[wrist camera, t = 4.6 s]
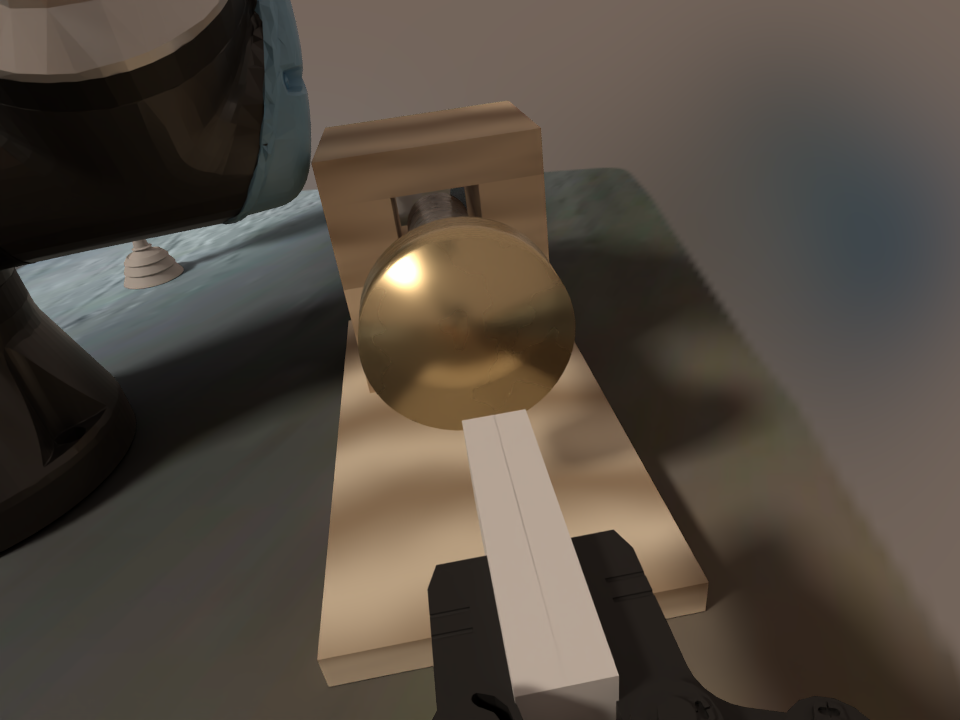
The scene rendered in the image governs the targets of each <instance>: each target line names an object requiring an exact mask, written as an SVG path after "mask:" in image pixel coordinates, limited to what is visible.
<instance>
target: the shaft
mask: <svg viewBox="0 0 960 720" xmlns="http://www.w3.org/2000/svg"><path fill="white" fill-rule="evenodd" d="M407 225H408V232H407V233H406V234H404V235H403V236H401V237H400V238H399V239H397V240H396V241H395V242H394V243H392V244H391V245H390V246H389V247H388V248H387V249H386V250H385V251H384V252H383V253H382V255H381V256H380V257H379V258H378V259H377V261H376V262H375V264H374V266H373V267H372V269H371V270H370V272H369V274H368V277H367V279H366V281H365V284H364V287H363V291H362V294H361V300H360V309H359V325H358V351H359V357H360V362H361V365H362V368H363V371H364V373H365V375H366V377H367V379H368V381H369V383H370V385H371V386H372V388H373V389H374V390H375V392H376V393H377V395H378V396H379V397H380V398H381V399H382V400H383V401H384V402H385V403H386V404H387V405H388V406H390V407H391V408H392V409H393V410H395V411H396V412H398V413H399V414H401V415H403V416H404V417H406V418H408V419H410V420H412V421H414V422H417V423H419V424H422V425H425V426H429V427H433V428H438V429H443V430H454V431H460V430H463V425H462V420H468V419H473V418H479V417H485V416H490V415H496V414H501V413H507V412H512V411H518V410H524V409H526V411H527V410H529V409H530V408H532V407H533V406H534V405H536V404H537V403H538V402H539V401H541V400H542V399H543V398H544V397H545V396H546V395H547V394H548V393H549V392H550V391H551V389H552V388H553V387H554V386H555V384H556V383H557V382H558V380H559V379H560V377H561V376H562V374H563V372H564V371H565V368H566V366H567V364H568V362H569V360H570V357H571V353H572V350H573V346H574V340H575V325H576V324H575V316H574V310H573V306H572V302H571V299H570V297H569V295H568V292H567V290H566V288H565V286H564V285H563V283H562V282H561V280H560V278H559V277H558V275H557V274H556V272H555V270H554V269H553V267H552V266H551V264H550V262H549V261H548V259H547V258H546V256H545V255H544V253H543V252H542V251H541V250H540V249H539V247H538V246H537V245H536V244H535V243H534V242H533V241H531V240H530V239H529V238H528V237H527V236H525V235H524V234H522V233H521V232H519V231H518V230H516V229H514V228H512V227H510V226H508V225H506V224H504V223H501V222H497V221H494V220H491V219H486V218H480V217H469V215H468V212H467V210H466V208H465V206H464V205H463V204H462V203H461V201H459V200H458V199H457V198H456V197H454V196H452V195H450V194H446V193H431V194H428V195H425V196H423V197H422V198H420V199H419V200H418V201H417V202H416V203H415V204H414V205H413V206H412V208H411V210H410V212H409V215H408V221H407Z"/></svg>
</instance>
